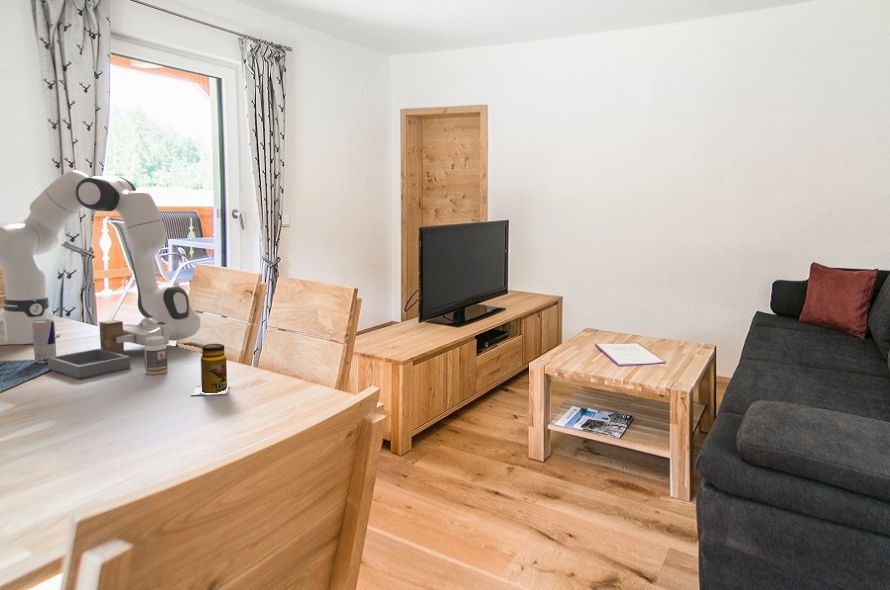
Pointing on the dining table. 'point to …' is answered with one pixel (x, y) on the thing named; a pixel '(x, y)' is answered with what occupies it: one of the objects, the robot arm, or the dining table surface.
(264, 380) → the dining table surface
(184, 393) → the dining table surface
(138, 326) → the robot arm
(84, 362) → the tote
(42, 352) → the energy drink
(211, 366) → the condiment
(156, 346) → the pill bottle
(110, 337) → the walnut block
